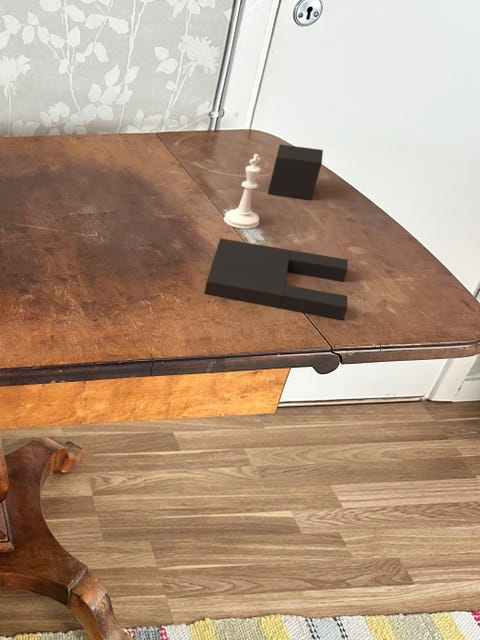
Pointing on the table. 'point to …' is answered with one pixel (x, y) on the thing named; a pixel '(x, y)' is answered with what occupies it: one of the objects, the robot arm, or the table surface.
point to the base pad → (275, 277)
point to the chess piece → (245, 200)
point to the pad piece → (295, 172)
